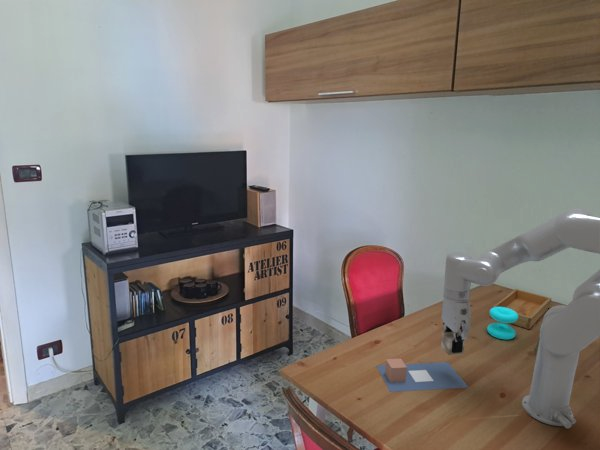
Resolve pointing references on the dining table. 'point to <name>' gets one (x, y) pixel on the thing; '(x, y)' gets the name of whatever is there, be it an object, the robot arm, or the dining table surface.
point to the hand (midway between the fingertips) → (452, 347)
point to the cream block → (449, 343)
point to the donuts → (499, 328)
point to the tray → (525, 306)
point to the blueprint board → (425, 377)
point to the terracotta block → (395, 370)
